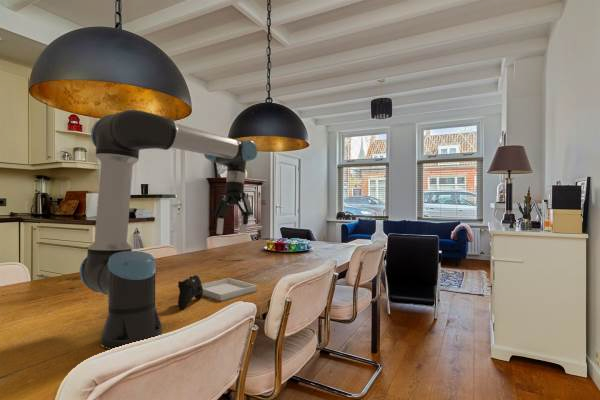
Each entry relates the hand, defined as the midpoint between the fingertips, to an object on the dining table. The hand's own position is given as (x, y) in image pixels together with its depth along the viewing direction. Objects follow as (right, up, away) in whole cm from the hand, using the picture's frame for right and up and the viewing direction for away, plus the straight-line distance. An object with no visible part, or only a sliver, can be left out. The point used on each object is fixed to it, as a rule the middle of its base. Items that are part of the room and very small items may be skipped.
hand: (230, 233), depth 136 cm
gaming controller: (-12, -25, -13) cm, 30 cm away
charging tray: (-3, -25, +3) cm, 25 cm away
